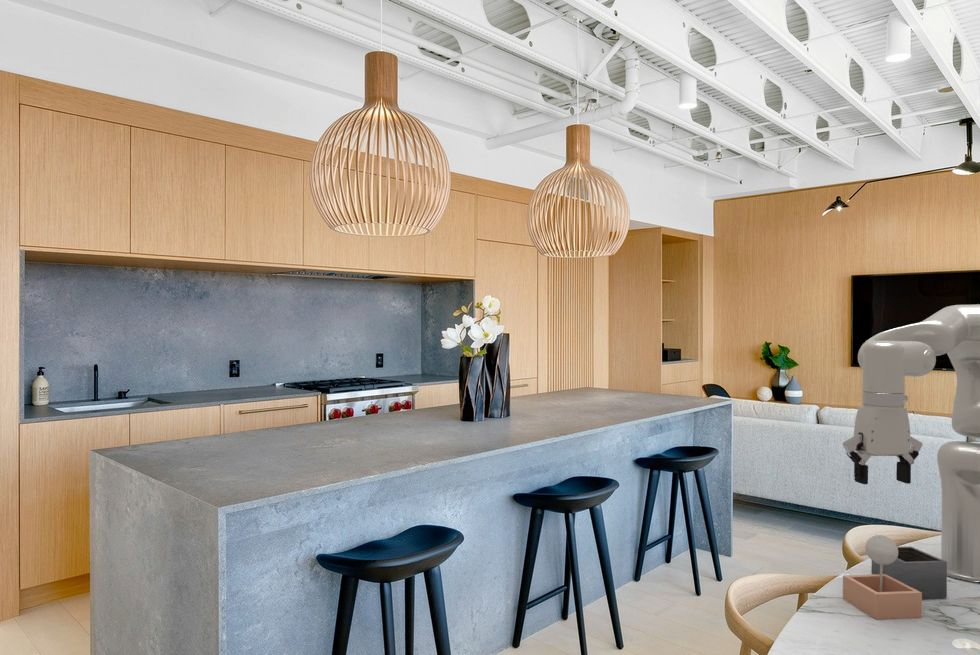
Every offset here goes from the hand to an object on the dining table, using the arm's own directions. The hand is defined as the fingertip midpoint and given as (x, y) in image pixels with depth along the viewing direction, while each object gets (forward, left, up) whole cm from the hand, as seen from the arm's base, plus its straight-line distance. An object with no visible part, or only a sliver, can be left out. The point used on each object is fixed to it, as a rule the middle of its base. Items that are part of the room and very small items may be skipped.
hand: (882, 482), depth 134 cm
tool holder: (0, 0, -26) cm, 26 cm away
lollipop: (0, 0, -26) cm, 26 cm away
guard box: (-13, -8, -26) cm, 30 cm away
